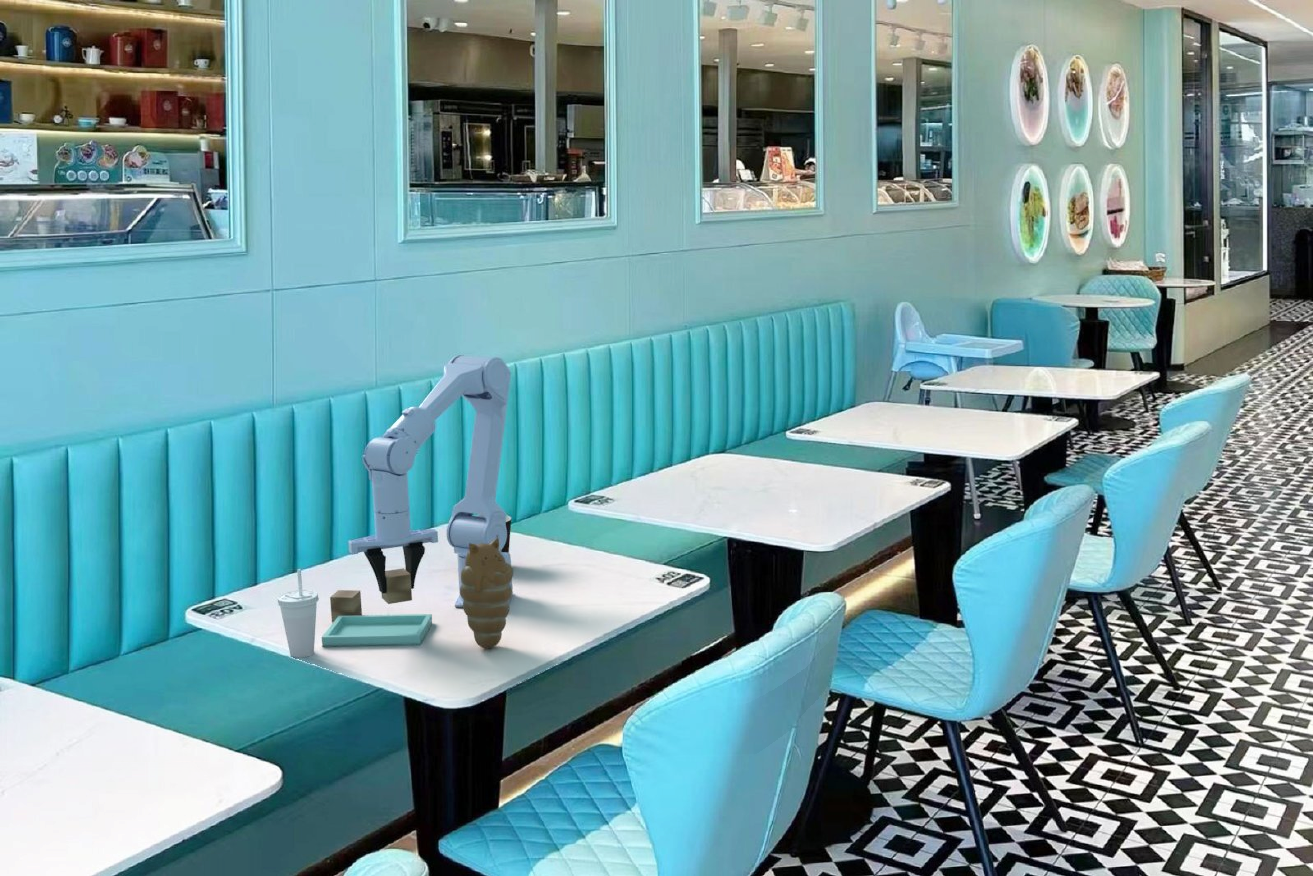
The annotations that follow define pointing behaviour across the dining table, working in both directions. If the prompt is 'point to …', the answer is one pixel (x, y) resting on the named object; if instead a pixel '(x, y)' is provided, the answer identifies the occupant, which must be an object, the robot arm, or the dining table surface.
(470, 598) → the cat ice cream
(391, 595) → the block
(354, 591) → the block
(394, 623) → the tray
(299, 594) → the smoothie
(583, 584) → the dining table surface
